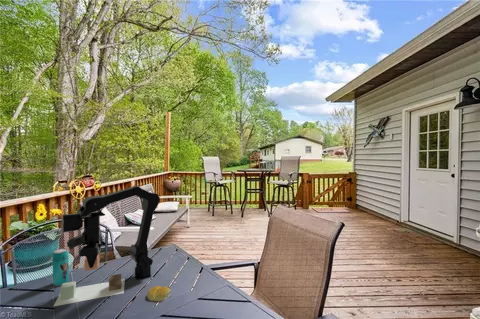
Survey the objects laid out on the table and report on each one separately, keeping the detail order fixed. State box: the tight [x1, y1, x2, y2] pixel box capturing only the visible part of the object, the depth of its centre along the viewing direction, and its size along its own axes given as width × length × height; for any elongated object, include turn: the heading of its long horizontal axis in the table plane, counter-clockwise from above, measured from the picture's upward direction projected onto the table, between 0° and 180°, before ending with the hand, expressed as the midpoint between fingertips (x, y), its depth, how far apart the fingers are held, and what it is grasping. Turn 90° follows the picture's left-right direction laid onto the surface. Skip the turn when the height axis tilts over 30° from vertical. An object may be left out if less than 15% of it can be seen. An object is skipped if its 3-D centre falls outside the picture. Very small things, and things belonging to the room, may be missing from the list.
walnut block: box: [108, 273, 122, 291], centre depth 110 cm, size 4×4×4 cm
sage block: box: [59, 281, 77, 300], centre depth 103 cm, size 4×4×4 cm
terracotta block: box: [84, 253, 100, 272], centre depth 106 cm, size 4×4×4 cm
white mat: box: [52, 278, 126, 307], centre depth 106 cm, size 24×13×1 cm, turn 113°
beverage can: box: [52, 248, 70, 287], centre depth 114 cm, size 6×6×15 cm
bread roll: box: [146, 285, 172, 302], centre depth 103 cm, size 8×9×4 cm
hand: (92, 265), depth 106 cm, fingers closed on terracotta block, 4 cm apart
